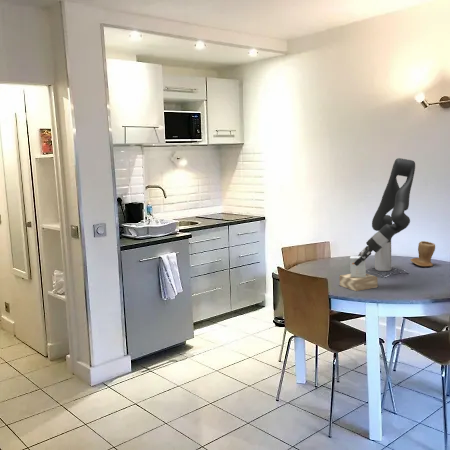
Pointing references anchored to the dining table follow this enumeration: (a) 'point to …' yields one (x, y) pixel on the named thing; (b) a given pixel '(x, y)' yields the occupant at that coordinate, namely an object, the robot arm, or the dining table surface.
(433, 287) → the dining table surface
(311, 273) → the dining table surface
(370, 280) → the oak block
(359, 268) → the small box
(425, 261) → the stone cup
